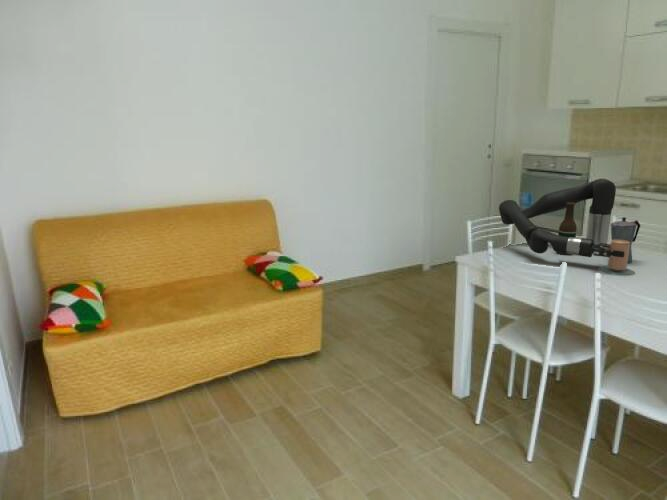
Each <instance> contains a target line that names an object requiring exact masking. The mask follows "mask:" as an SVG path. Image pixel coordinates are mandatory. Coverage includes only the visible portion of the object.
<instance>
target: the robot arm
mask: <svg viewBox="0 0 667 500" xmlns="http://www.w3.org/2000/svg"><path fill="white" fill-rule="evenodd" d="M616 190H617V187H616V185H615V183H614V181H611V180H609V179H607V178H598V179H594V180H593V181H590V182H586V183H584V184H581V185H579V186H574V187H569V188H564V189H561V190H556V191H552V192H549V193H545V194H543V195H542V196H541V197H540V198H538V200H537V201H535V202H534V203H533V204H532V205H531V206H529V207H527V208H525V209H521V208H520V206H519V204H518V203H517V201H516V200H513V199H506V200H504V201H502V202H501V203H500V204H499V206H498V211H499V216H500V219H501V222H502V223H503V224H504V225H508V226H509V225H514V226H515V228H516V230H517V231H518V232H519V235H521V236H522V237H523V238H524V239H525V240H526V243H527V244H528V247H529V249H530V250H531V251H532V252H534V253H535V254H545V253H546V252H547V251H548V249H549V244H550V245H551V246H552V249H553V251H554V252H555V253H557V252H561V253H568V254H572V256H578V257H579V256H580V257H587V258H591V257H592V256H594V257H603V258H609V257H613V256H615V257H624V254H625V252H622V251H613V250H610V246H611V243H608V240H609V233H610V227H611V217H612V211H613V209H614V205H615V199H616V193H617V191H616ZM587 200H592V201H591V204H590V207H589V209H588V210H589V211H588V218H587V227H586V235H585V237H565V236H559V235H558V234H557V233H553V232H550V231H548V230H547V229H541V228H540V229H539V228H538V227H537V226H536V225H535V224H534V222H532V221H531V220H530V219H532V218H535V217H538V216H541V215H546V214H550V213H555V212H558V211H561V210H562V211H563V210H564V209H565V210H566V207H567V205H566V204H567V202H573V203H575V205H576V204H578V203H580V202H583V201H587Z"/></svg>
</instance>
